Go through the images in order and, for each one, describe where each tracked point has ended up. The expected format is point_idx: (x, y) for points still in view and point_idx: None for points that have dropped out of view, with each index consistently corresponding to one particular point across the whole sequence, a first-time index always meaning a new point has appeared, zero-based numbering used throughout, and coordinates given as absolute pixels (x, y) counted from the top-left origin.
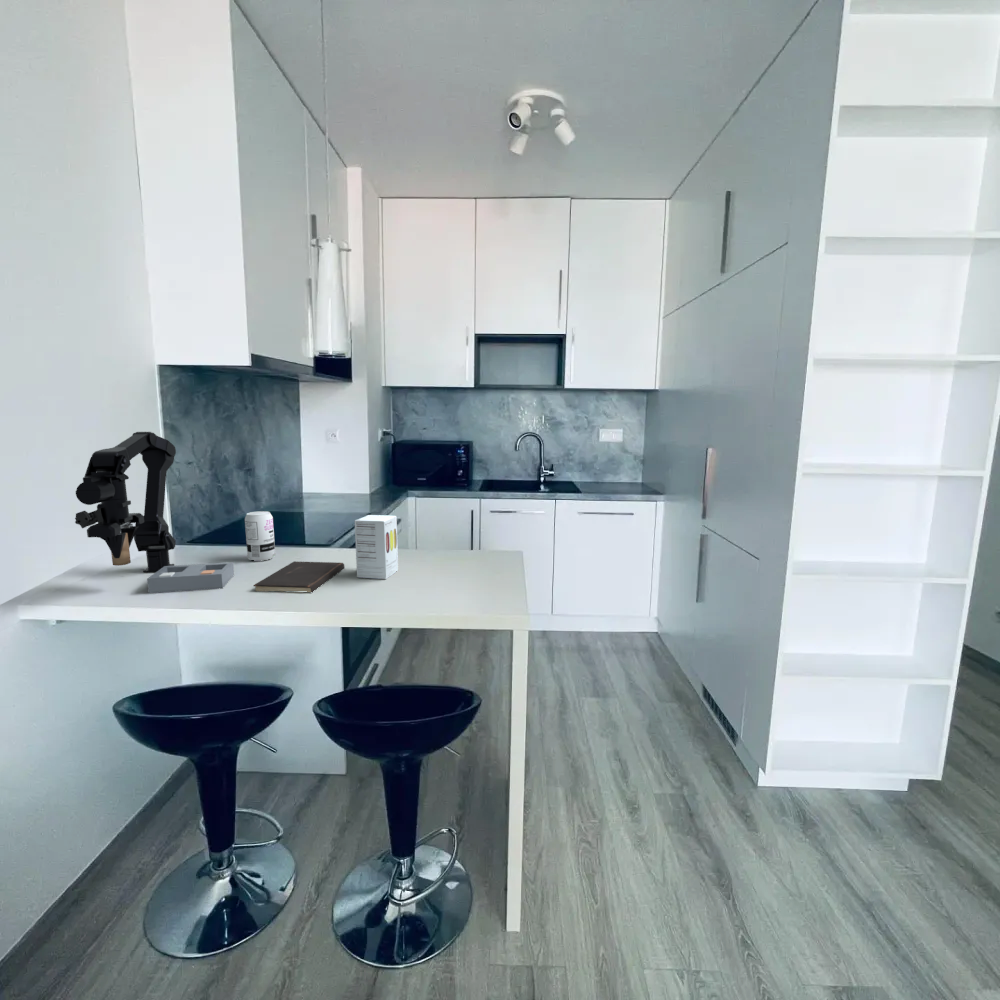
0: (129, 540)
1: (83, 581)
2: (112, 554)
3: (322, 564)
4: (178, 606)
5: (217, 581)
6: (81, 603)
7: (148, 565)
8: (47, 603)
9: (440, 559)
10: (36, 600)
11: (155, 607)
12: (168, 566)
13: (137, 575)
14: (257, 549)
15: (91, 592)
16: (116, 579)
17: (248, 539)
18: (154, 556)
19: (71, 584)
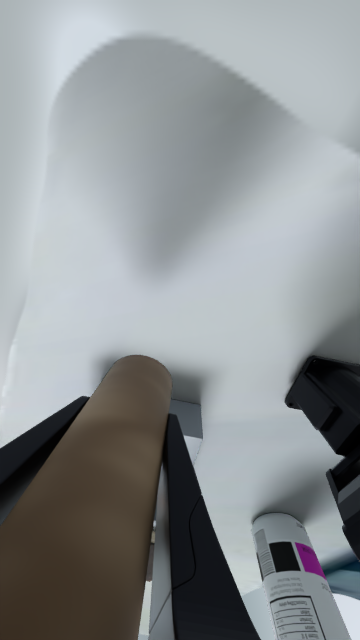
0: (156, 546)
1: (324, 183)
2: (91, 400)
3: (149, 570)
4: (9, 429)
5: None
6: (51, 256)
7: (319, 381)
8: (69, 138)
9: (148, 611)
10: (116, 65)
11: (6, 401)
12: (192, 446)
13: (289, 343)
14: (261, 560)
15: (154, 255)
16: (277, 295)
17: (289, 595)
18: (329, 423)
19: (304, 143)
